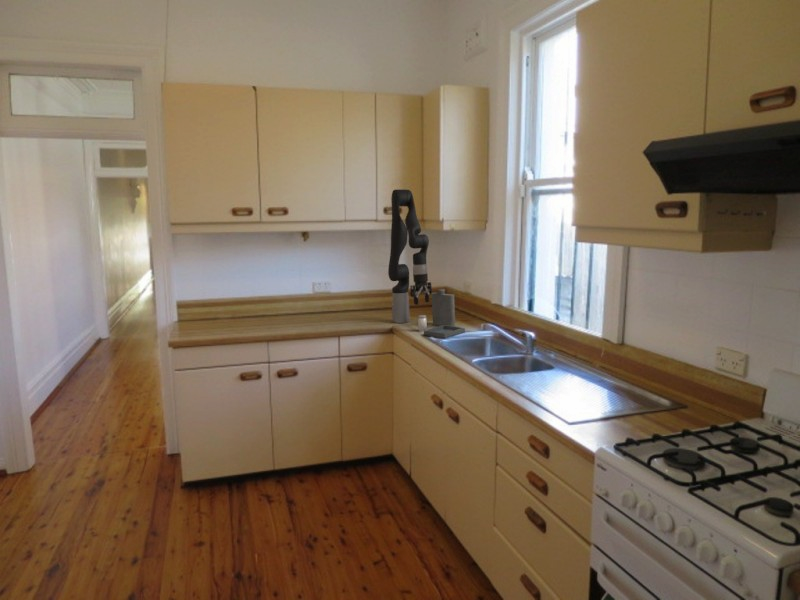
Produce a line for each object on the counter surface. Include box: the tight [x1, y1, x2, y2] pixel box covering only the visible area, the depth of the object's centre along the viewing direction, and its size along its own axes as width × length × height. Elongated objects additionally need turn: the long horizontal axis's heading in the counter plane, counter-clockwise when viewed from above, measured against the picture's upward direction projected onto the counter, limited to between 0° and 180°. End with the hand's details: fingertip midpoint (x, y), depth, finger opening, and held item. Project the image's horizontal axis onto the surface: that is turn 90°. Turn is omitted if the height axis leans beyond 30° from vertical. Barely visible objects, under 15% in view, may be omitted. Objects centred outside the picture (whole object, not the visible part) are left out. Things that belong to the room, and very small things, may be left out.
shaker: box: [417, 314, 428, 333], centre depth 303 cm, size 5×5×8 cm
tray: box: [423, 325, 466, 339], centre depth 293 cm, size 14×16×2 cm
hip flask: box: [431, 288, 456, 327], centre depth 312 cm, size 16×4×20 cm, turn 41°
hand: (421, 303), depth 301 cm, fingers open, 8 cm apart
